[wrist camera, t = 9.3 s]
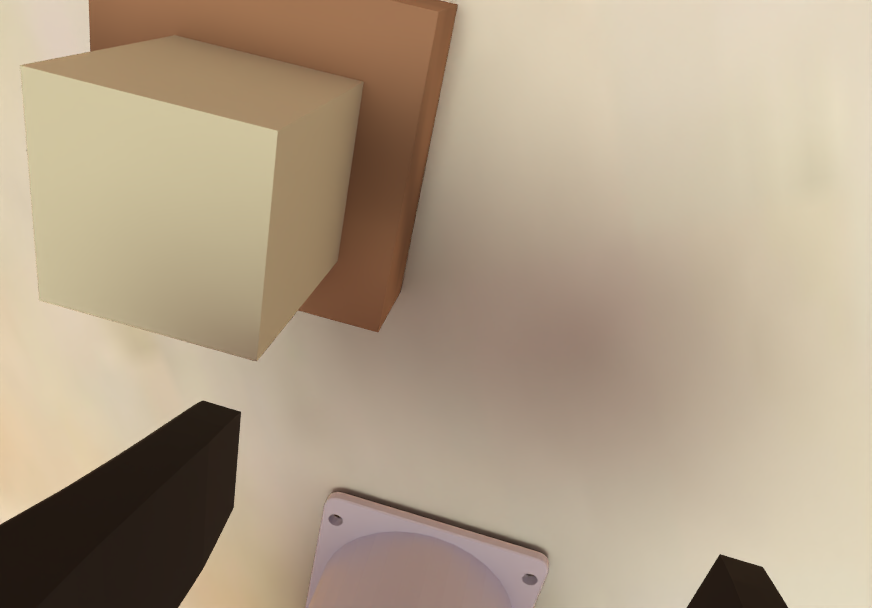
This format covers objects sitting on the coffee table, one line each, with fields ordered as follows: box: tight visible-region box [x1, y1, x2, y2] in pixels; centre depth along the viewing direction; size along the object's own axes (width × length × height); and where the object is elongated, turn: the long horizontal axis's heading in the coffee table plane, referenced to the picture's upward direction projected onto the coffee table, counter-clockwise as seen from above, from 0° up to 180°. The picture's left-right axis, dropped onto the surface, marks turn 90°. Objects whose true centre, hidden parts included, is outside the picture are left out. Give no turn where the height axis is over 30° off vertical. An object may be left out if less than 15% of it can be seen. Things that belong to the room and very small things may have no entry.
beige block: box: [20, 35, 364, 361], centre depth 15 cm, size 4×4×5 cm
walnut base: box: [89, 0, 458, 332], centre depth 18 cm, size 8×8×3 cm
